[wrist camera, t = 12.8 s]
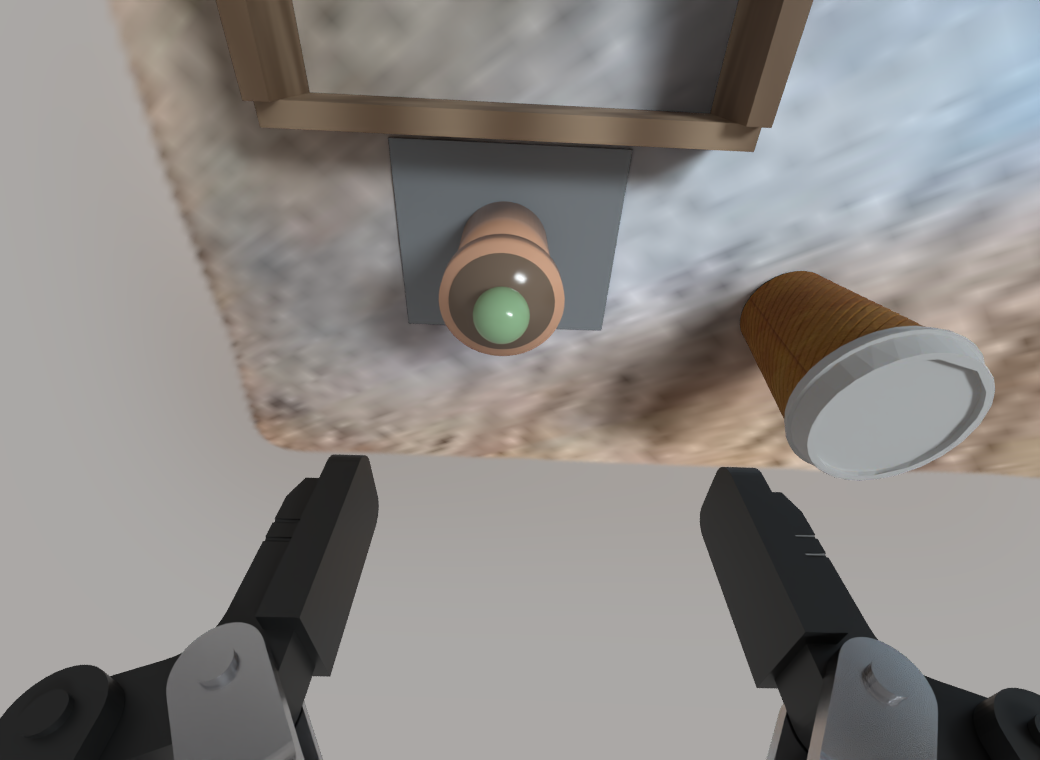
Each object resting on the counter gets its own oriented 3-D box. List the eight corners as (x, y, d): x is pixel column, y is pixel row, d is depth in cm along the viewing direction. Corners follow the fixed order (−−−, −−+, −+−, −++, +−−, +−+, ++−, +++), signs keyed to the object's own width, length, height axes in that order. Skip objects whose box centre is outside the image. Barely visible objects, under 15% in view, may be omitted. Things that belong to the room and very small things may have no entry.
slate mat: (631, 148, 27) (632, 149, 26) (600, 328, 34) (601, 330, 34) (389, 136, 26) (388, 137, 26) (409, 321, 33) (408, 323, 33)
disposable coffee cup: (876, 314, 33) (1025, 426, 23) (753, 386, 37) (837, 508, 27) (825, 216, 29) (981, 303, 19) (692, 309, 33) (766, 420, 23)
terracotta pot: (557, 196, 28) (576, 267, 19) (549, 292, 32) (562, 386, 23) (452, 192, 28) (425, 262, 19) (457, 289, 32) (436, 383, 23)
